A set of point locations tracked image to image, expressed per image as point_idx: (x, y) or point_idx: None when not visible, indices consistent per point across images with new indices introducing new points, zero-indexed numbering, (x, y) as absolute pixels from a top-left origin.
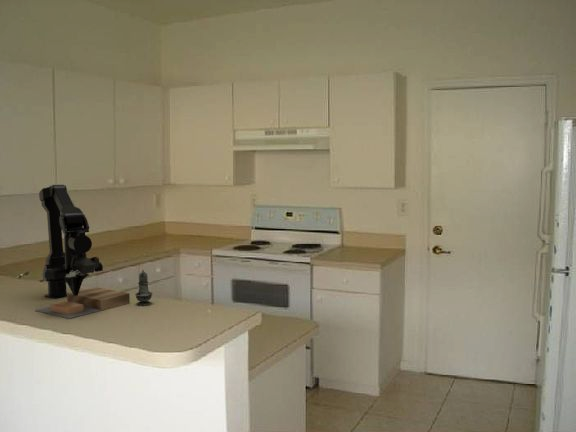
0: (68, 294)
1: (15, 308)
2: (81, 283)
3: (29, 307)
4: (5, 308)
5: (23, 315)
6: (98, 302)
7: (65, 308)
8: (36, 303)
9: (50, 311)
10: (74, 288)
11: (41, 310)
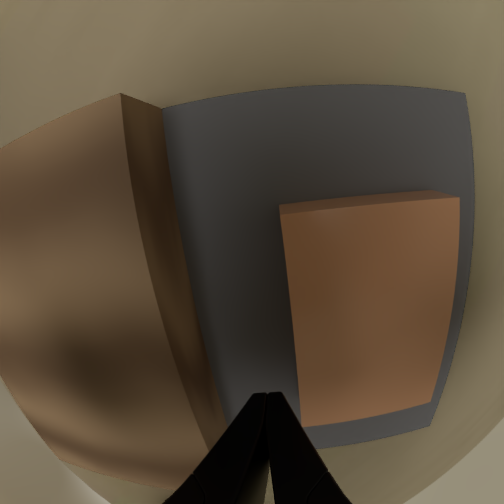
0: None
1: (416, 479)
2: (174, 496)
3: (386, 474)
4: (426, 486)
5: (497, 382)
6: (138, 136)
7: (456, 230)
8: None
9: None
10: (317, 454)
11: (427, 407)
